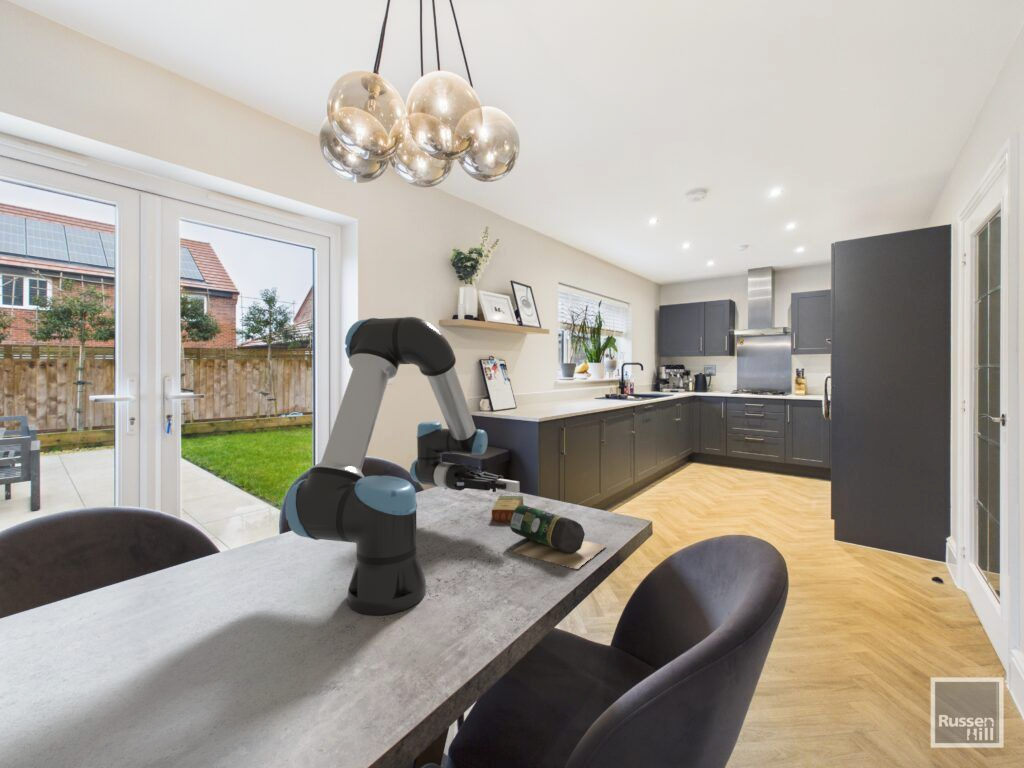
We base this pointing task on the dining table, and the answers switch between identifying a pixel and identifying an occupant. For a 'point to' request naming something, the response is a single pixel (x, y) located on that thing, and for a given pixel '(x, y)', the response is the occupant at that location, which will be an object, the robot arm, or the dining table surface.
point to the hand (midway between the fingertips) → (517, 487)
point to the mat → (560, 553)
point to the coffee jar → (547, 528)
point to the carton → (505, 508)
